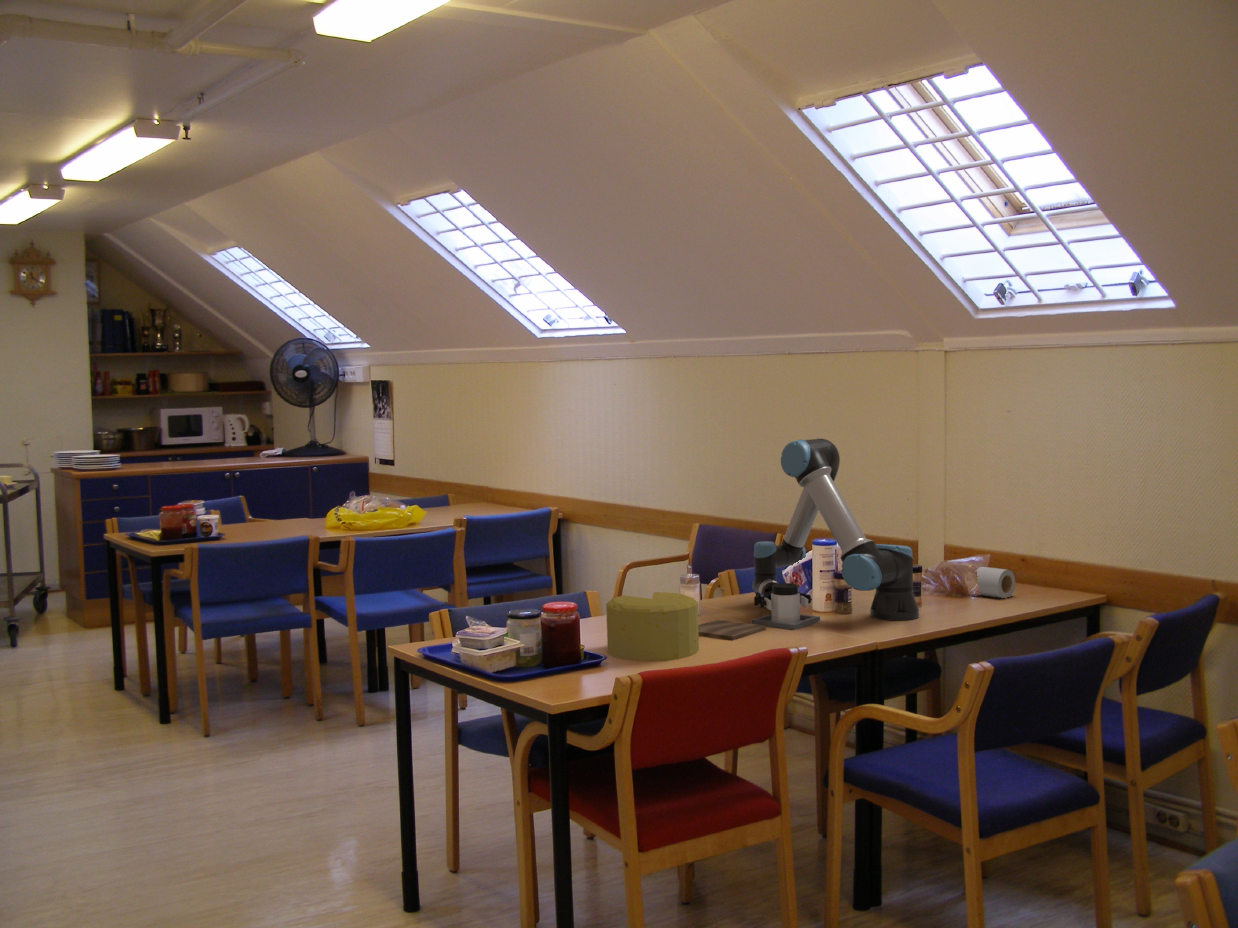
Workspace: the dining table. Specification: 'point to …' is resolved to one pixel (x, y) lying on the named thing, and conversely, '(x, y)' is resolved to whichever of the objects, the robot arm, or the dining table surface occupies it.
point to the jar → (785, 603)
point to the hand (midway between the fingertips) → (788, 604)
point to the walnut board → (728, 629)
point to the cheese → (652, 627)
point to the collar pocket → (805, 621)
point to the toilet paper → (995, 582)
